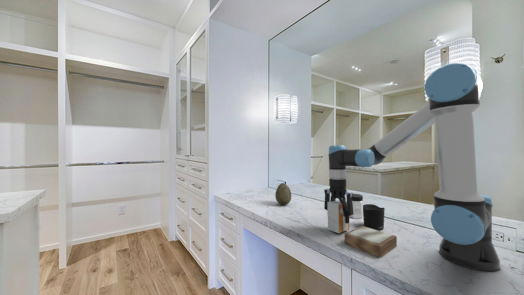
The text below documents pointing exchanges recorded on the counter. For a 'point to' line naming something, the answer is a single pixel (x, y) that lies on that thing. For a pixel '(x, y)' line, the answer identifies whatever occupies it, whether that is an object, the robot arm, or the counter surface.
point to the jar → (357, 206)
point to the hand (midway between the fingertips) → (338, 227)
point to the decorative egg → (283, 194)
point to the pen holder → (373, 216)
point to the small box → (335, 216)
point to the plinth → (371, 241)
